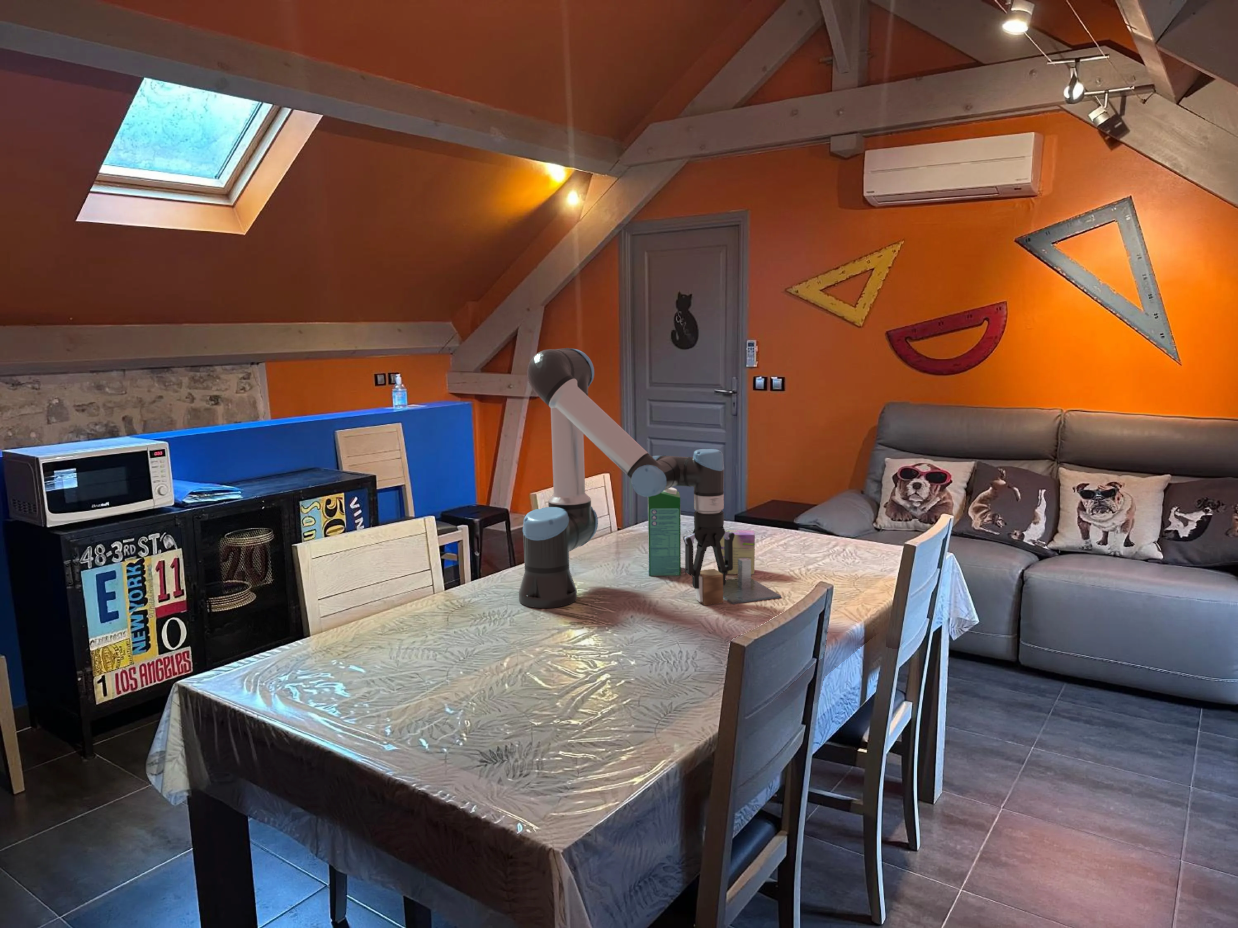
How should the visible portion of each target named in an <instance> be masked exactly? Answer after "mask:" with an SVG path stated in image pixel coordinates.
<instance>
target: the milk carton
mask: <svg viewBox="0 0 1238 928" xmlns="http://www.w3.org/2000/svg"><path fill="white" fill-rule="evenodd" d="M681 522H682V521H681V495H680V492H679V491H678V489H677V488H675V487H671V488H669V489H666V490H664V491H663V492H661V493H660V494H658V495H655V496H650V497H647V523H648V524H647V529H648V530H647V536H648V539H647V540H648V543H647V546H648V547H647V549H648V551H647V552H648V553H647V554H648V555H647V556H648V557H647V558H648V575H649V577H655V576H657V577H661V576H663V577H664V576H665V577H667V576H668V577H670V576H671V577H673V576H677V577H678V576H681V575H682V572H681V571H682V568H681V564H682V563H681V560H682V558H681V553H682V551H681V550H682V549H681V544H682V543H681V535H682V534H681V531H682V530H681V527H682V526H681V525H682V524H681Z"/></svg>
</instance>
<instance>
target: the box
mask: <svg viewBox="0 0 1238 928" xmlns="http://www.w3.org/2000/svg"><path fill="white" fill-rule="evenodd" d="M725 531H730V532H732V533H734V534H735V536H734V539H733V569H732V570H731V571H730V570H729V571H728V573H727V574H726V575H728V574H729V575H738V559H740V558H748V559H750V560H751V576H752V575H755V561H756V560H755V559H756V558H755V553H756V552H755V551H756V548H755V547H756V546H755V545H756V544H755V543H756V535H755V531H754V530H747V529H746V530H742V529H740V530H736V529H735V530H734V529H733V530H732V529H731V530H730V529H729V530H728V529H725ZM720 544H721V551H722V555H723V559H724V536H723V537H722V539H721V541H720ZM717 571H719V570H718V569H717Z"/></svg>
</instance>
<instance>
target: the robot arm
mask: <svg viewBox="0 0 1238 928" xmlns="http://www.w3.org/2000/svg"><path fill="white" fill-rule="evenodd" d="M526 374H527V375H526V376H527V380H528V383H529V384H528V385H530V388H531V389H532V390H533V392H534V393H535V394H536V396H538V397H539V399H541V401H543V402H544V403H545V405H547V406H548V407H549V408H550V424H551V449H552V450H551V451H552V452H551V453H552V479H553V480H552V485H553V494H552V496H550V497H549V498H548V499H547V500H548V501H547V502H548V505H547V507H541V508H536V509H533V510H531V511H529V512H527V514H526V515H525V516H524V518H523V525H522V534H523V536H522V537H523V558H524V559H523V560H524V573H523V577H522V580H521V583H520V588H519V590H518V602H519V603H520V604H521V605H523V606H524V607H525V606H526V607H529V608H537V609H552V608H553V609H554V608H559V607H564V606H569V605H571V604H574V603H575V602H576V601H577V599H578V594H577V591H578V590H577V587H576V585H575V582H574V579H573V575H572V573H571V570H570V552H571V551H573V550H576V549H577V548H579V547H582V546H584V545H586V544H587V543H588V542H589V541H590V540H591V539H593V537H594V536H595V534H596V532H597V531H598V526H599V518H598V515H597V512H596V510H595V509H594V508H593V506H592V499H591V497H590V496H589V495H588V494H587V493H586V480H585V479H586V477H585V476H586V474H585V442H584V437H586V438H588V439H589V440H590V442H592V443H593V444H594V445H595V447H596V448H598V449H599V450H600V452H602V453H603V454H604V455H605V456H606V457H607V458H609V460H610V461H611V462H613V464H615V465H616V466H617V467H618V468H619V469H620V470H621V471H622V472H623V473H625V475H627V476H628V478H630V482H631V483H630V484H631V486H632V488H633V490H634V492H635V493H636V494H637V495H639V496H641V497H645V498H648V497H650V496H655V495H658V494H660V493H661V492H663V491H664V490H666V489H669V488H671V487H672V488H674V487H690V488H691V487H693V509H694V510H695V511H694V513H693V525H694V529H693V532H692V534H688V535H684V536H683V537H682V540H683V542H684V545H685V547H684V553H685V555H684V570H685V571H684V572H685V573H686V574H687V575H689V576H692V579H691V581H692V588H694V589H695V600H696V599H697V601H698V602H699V603H700V602H703V590H702V576H700V572H701V570H702V566H703V563H704V558H705V555H706V552H707V549H708V548H709V547H712V550H713V553H714V558H715V561H716V566H717V571H718V570H719V572H720V573H722V574H723V585H725V584H726V580H727V579H726V578H727V577H726V576H727V575H728V574H727V573H728V571H729V570H730V571H731V570H732V569H733V539H734V536H735V534H734V533H732V532H730V531H725V530H726V529H725V527H724V526H725V525H724V524H725V512H724V511H723V509H724V508H725V505H724V504H725V501H724V499H725V498H724V497H725V495H724V494H725V492H724V487H725V486H724V485H725V480H724V478H725V466H724V454H723V452H722V451H721V450H719V449H716V448H701V449H696V450H694V451H693V455H692V456H674V455H664V454H663V455H662V454H661V455H653V456H652V455H650V453H649V452H648V451H647V450H645V448H644V447H643V446H641V444H640V443H638V442H637V441H636V440H635V439H634V438H633V437H632V436H631V435H629V433H628V432H627V431H626V430H624V429H623V427H621V426H620V425H619V424H618V423H617V422H616V421H615V420H614V419H613V418H612V417H610V416H609V414H608V413H607V412H605V411H604V410H603V409H602V408H601V407H600V406H599V405H598V404H597V403H596V402H595V401H594V400H593V399H591V398H590V397H589V387H590V386H591V384H592V382H593V381H594V378H595V367H594V364H593V362H592V360H591V359H590V357H589V356H588V355H587V353H585V352H583V351H581V350H580V349H576V348H571V347H570V348H569V347H566V348H555V349H553V348H552V349H543V350H541V351H539V352H537V353H536V354H534V355H533V357H532V358H531V359H530V361H529V363H528V366H527V370H526ZM723 536H724V559H723V555H722V551H721V544H720V541H721V539H722V537H723ZM695 540H696V542H697V543H696V553H695V556H694V543H695Z"/></svg>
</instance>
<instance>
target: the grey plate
mask: <svg viewBox="0 0 1238 928" xmlns="http://www.w3.org/2000/svg"><path fill="white" fill-rule="evenodd" d="M781 598H782V595H781V594H780V593H778V592H776V591H774V590H772V589H770V588H769V587H768V586H765V585H764V584H762V583H760V582H758V581H757V580H755V579H753V578H752V575H751V560H750V559H748V558H740V559H738V574H737V578H730V579H726V584H725V585H723V600H726V601H727V602H729V603H730V604H732V605H735V604H741V603H742V604H745V603H751V602H760V601H767V600H774V599H781Z"/></svg>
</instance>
